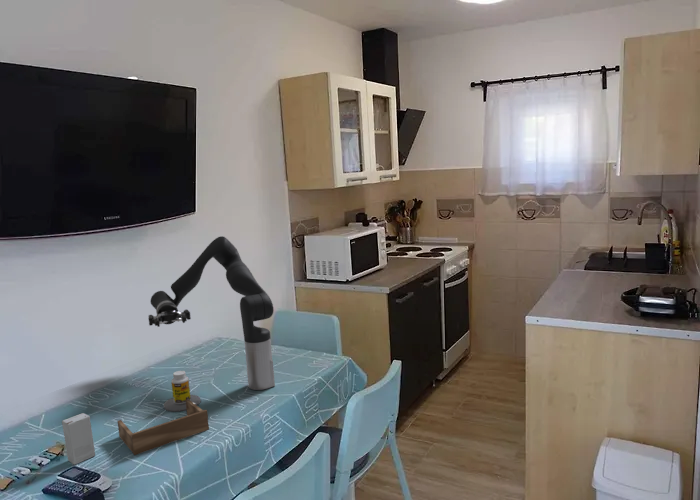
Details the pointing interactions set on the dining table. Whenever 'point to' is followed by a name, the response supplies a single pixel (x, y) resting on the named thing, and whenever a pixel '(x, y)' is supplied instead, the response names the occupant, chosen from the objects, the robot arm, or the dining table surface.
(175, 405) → the slate pad
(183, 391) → the supplement bottle
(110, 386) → the dining table surface
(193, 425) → the brown wooden u-shaped piece
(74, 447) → the skincare box
